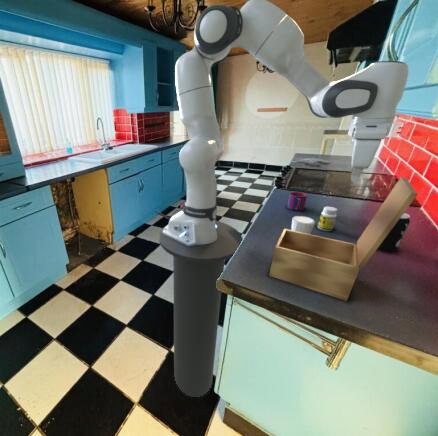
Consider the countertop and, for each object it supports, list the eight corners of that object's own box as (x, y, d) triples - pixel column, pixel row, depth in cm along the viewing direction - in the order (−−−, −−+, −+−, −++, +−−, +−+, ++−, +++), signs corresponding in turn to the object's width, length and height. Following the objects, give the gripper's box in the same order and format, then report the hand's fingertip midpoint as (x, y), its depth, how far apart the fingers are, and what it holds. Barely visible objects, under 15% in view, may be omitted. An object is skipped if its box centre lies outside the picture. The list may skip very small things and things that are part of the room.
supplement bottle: (314, 225, 93) (320, 206, 90) (327, 225, 93) (333, 205, 89) (321, 231, 89) (327, 211, 86) (335, 231, 89) (341, 210, 85)
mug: (303, 206, 111) (306, 192, 108) (304, 214, 103) (307, 199, 100) (287, 204, 114) (290, 191, 111) (286, 212, 106) (289, 198, 103)
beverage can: (389, 254, 74) (405, 220, 69) (365, 245, 79) (377, 212, 74) (400, 249, 76) (416, 215, 71) (376, 240, 82) (389, 208, 77)
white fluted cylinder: (314, 240, 84) (320, 222, 81) (296, 242, 83) (300, 224, 80) (302, 231, 90) (306, 214, 87) (284, 233, 90) (288, 216, 87)
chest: (269, 275, 68) (275, 246, 64) (278, 255, 77) (284, 228, 73) (346, 301, 58) (359, 268, 54) (346, 274, 67) (358, 244, 63)
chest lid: (411, 192, 44) (418, 194, 44) (401, 176, 53) (406, 177, 53) (358, 266, 54) (363, 267, 53) (356, 242, 63) (360, 243, 62)
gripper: (354, 125, 75) (342, 168, 81) (354, 132, 61) (339, 184, 67) (381, 125, 72) (366, 170, 78) (388, 132, 57) (369, 187, 63)
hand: (353, 177), depth 72 cm, fingers open, 8 cm apart
